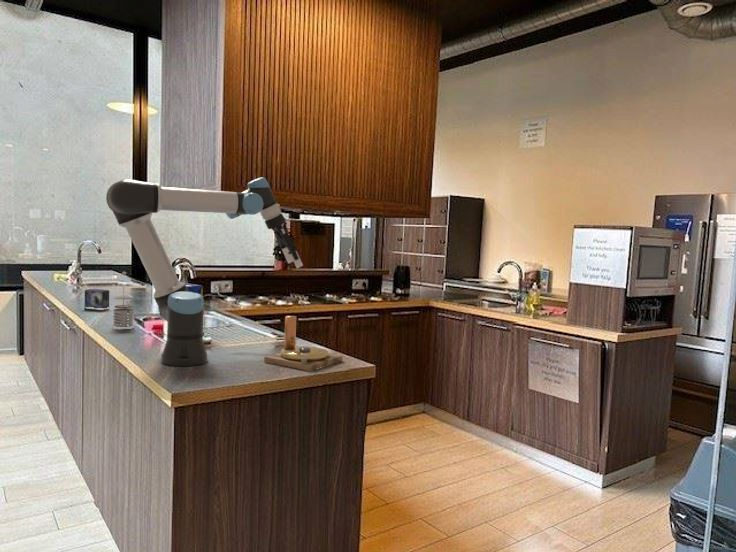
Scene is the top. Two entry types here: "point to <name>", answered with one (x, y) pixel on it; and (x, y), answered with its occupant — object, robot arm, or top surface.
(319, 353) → the disc
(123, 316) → the french press
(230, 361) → the top surface
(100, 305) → the small box
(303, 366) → the levelling stand
